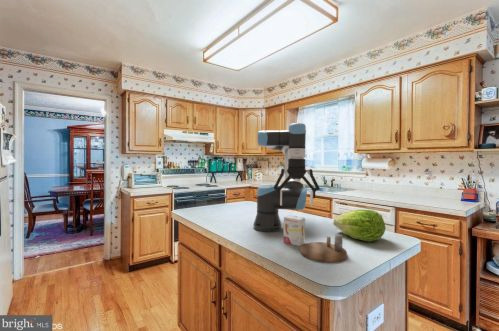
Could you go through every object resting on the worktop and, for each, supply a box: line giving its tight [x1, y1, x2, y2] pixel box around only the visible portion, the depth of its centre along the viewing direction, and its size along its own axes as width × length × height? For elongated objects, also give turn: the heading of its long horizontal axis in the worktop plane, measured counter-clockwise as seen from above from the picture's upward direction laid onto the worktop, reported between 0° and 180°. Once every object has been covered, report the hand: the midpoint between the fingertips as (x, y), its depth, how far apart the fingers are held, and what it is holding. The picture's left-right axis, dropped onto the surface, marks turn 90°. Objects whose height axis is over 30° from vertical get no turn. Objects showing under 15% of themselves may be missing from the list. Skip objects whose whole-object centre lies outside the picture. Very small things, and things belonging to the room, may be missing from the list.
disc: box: [299, 234, 348, 264], centre depth 102 cm, size 18×18×8 cm
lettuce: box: [332, 209, 386, 243], centre depth 123 cm, size 17×24×14 cm
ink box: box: [283, 214, 306, 247], centre depth 114 cm, size 9×5×12 cm, turn 51°
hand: (296, 205), depth 114 cm, fingers open, 13 cm apart
